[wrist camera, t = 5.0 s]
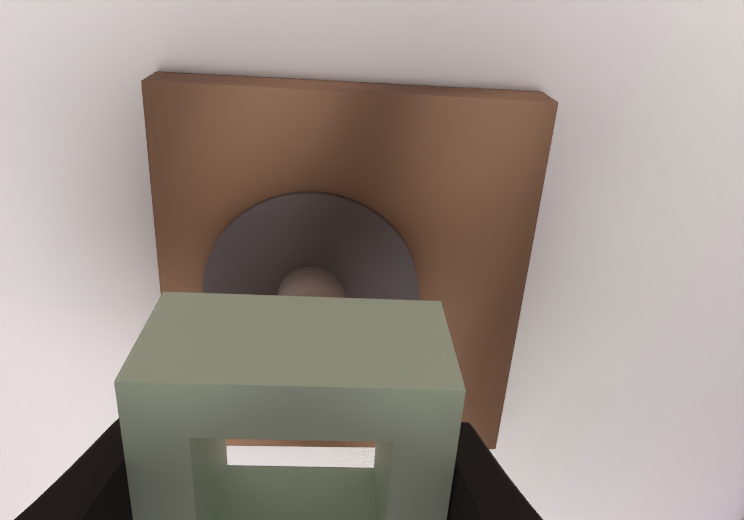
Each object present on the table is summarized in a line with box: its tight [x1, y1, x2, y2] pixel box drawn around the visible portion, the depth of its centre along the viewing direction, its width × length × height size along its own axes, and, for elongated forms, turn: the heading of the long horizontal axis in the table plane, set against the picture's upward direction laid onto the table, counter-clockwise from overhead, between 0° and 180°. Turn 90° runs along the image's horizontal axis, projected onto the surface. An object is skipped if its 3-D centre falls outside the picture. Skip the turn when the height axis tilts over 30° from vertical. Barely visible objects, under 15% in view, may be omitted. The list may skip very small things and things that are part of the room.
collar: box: [114, 292, 466, 520], centre depth 13 cm, size 6×6×3 cm
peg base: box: [141, 72, 558, 449], centre depth 18 cm, size 11×12×6 cm
